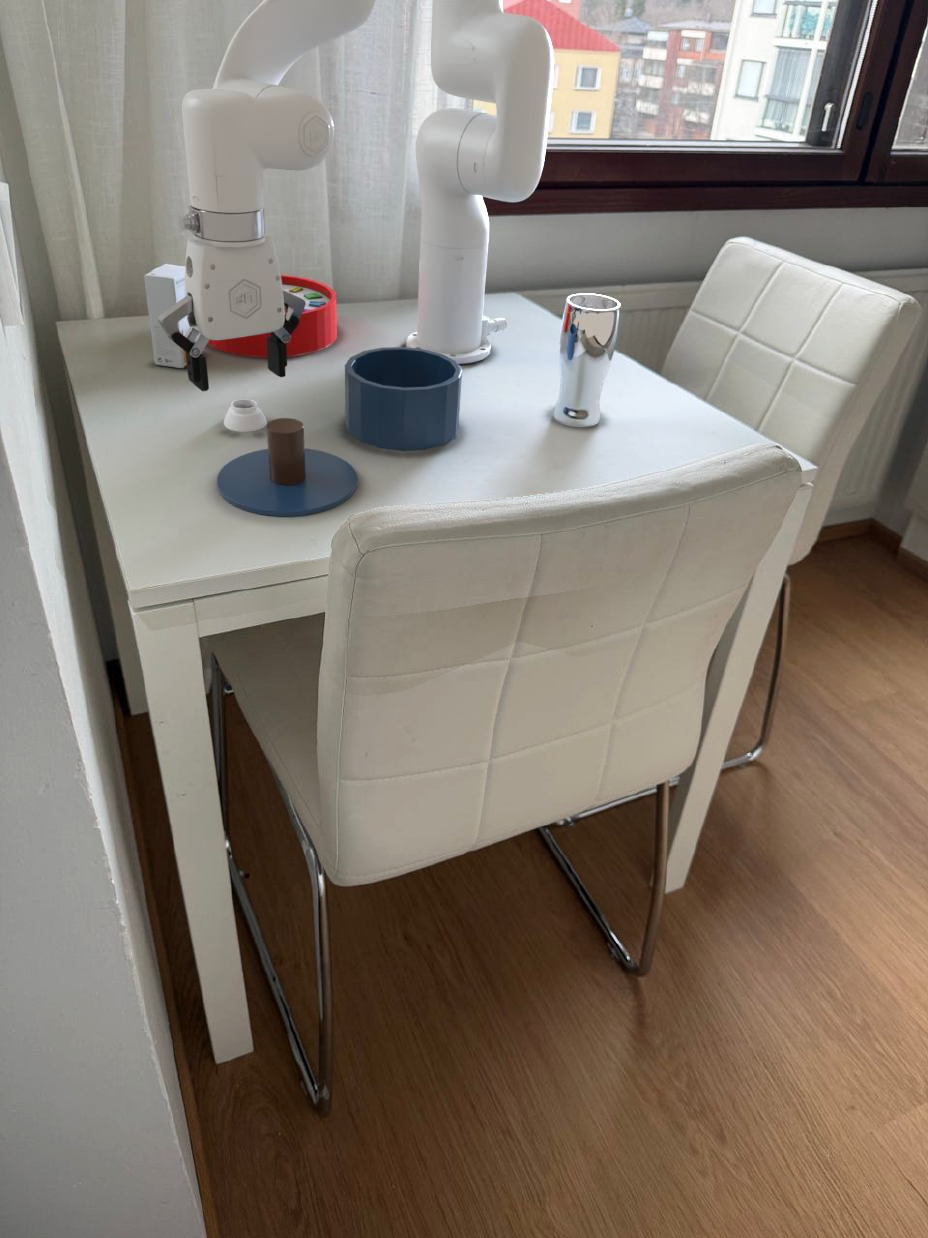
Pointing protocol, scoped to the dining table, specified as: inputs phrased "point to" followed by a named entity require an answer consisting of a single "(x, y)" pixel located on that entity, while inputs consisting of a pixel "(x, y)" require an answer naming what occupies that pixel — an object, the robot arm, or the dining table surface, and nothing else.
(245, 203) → the robot arm
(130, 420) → the dining table surface
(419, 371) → the tin
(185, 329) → the cosmetic box
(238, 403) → the lidless jar
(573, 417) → the beer glass
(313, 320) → the toy clock
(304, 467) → the tin lid
